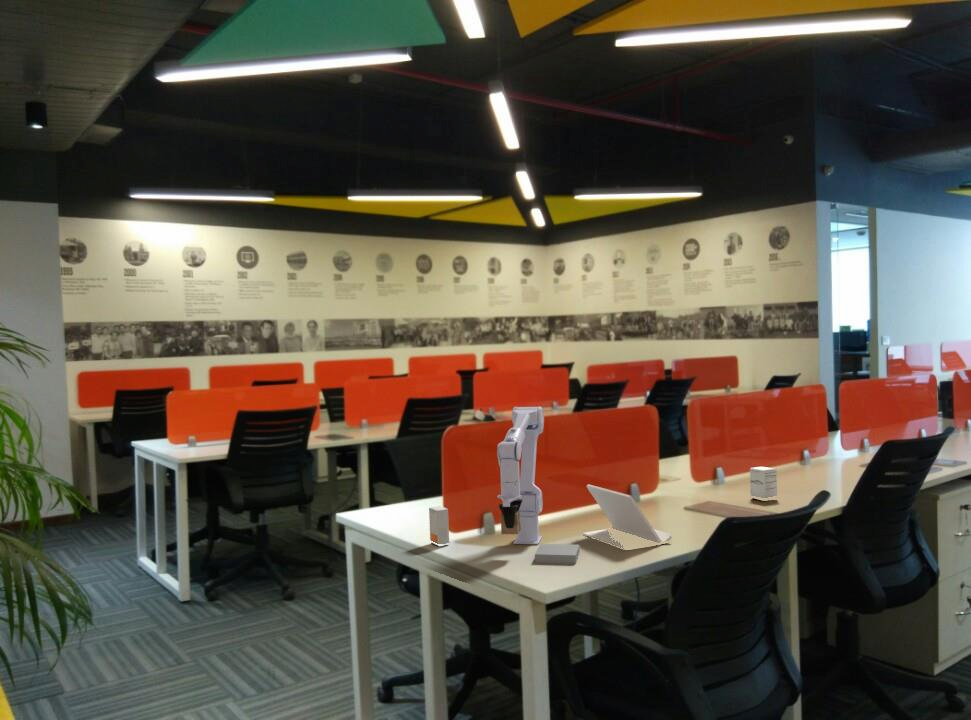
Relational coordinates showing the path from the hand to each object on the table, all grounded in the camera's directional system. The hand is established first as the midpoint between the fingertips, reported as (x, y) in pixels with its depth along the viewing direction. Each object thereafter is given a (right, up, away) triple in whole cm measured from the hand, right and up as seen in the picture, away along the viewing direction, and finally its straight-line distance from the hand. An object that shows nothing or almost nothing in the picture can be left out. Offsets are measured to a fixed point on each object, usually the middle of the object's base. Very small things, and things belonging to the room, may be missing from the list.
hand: (511, 525), depth 231 cm
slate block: (+14, -10, -3) cm, 17 cm away
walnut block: (0, -2, 0) cm, 2 cm away
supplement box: (+102, -5, +70) cm, 124 cm away
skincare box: (-23, -10, +17) cm, 30 cm away
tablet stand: (+38, -8, +17) cm, 42 cm away
